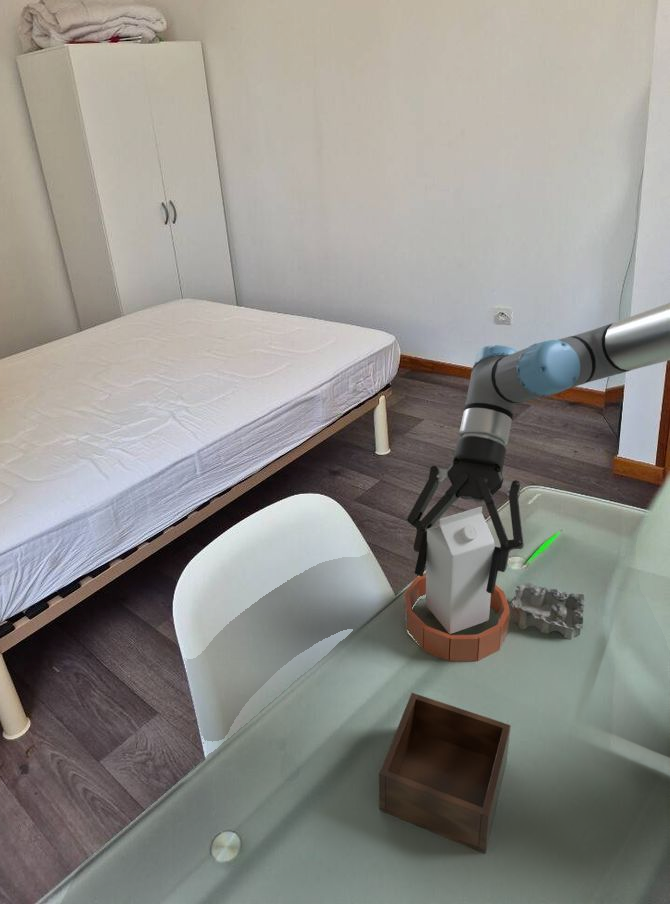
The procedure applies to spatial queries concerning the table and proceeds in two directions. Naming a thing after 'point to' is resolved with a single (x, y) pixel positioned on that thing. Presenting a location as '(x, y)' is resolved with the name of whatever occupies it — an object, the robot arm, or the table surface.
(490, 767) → the box
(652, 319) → the robot arm
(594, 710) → the table surface
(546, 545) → the leaf
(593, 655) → the table surface
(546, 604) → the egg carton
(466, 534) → the milk carton
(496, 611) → the orange faceted ring
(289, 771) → the table surface
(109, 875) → the table surface
